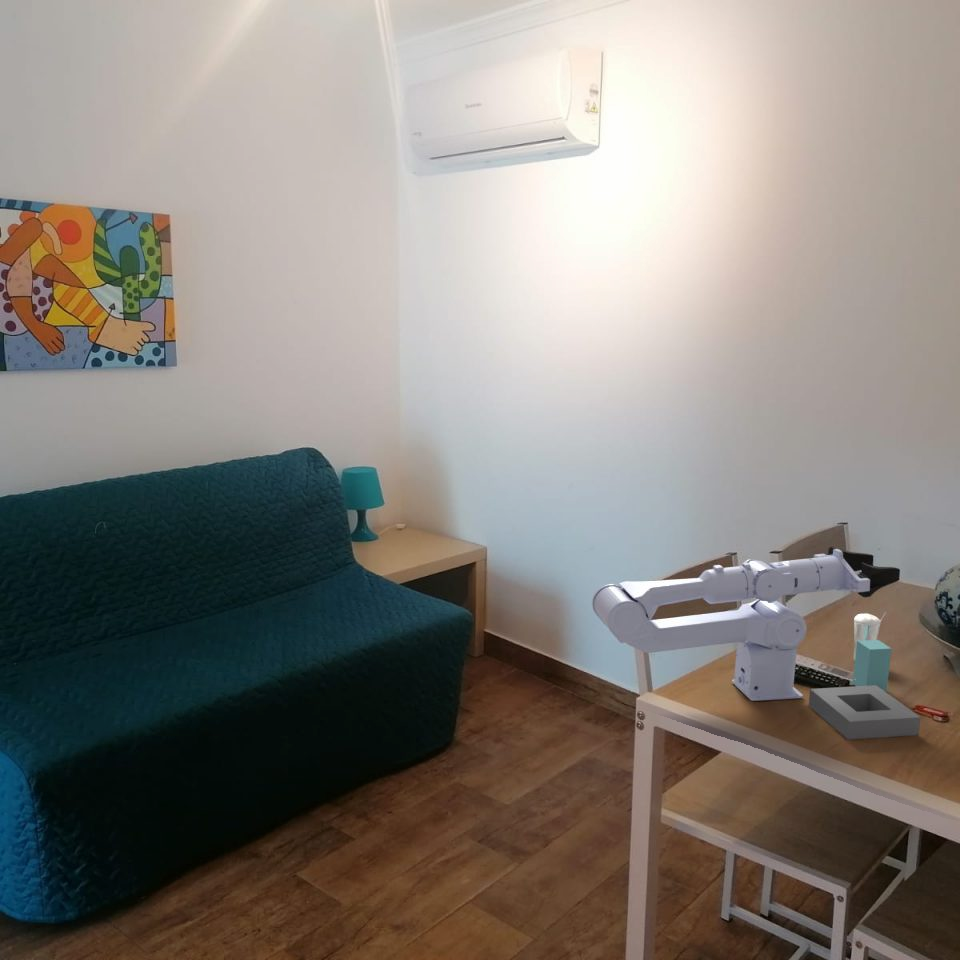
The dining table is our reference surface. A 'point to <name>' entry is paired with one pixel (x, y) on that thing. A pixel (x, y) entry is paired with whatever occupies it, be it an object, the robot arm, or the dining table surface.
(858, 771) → the dining table surface
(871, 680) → the peg
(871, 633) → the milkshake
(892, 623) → the dining table surface
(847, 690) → the socket block
